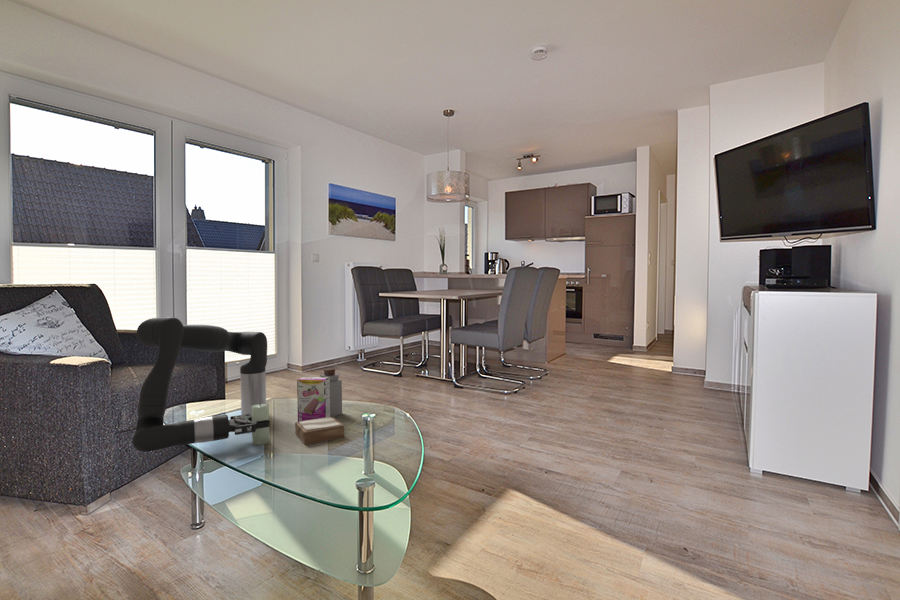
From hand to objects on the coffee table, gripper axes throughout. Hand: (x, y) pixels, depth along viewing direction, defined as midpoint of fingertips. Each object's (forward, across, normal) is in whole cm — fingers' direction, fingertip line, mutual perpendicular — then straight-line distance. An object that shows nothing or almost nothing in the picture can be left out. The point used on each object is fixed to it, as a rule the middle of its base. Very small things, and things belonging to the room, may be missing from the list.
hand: (267, 420), depth 149 cm
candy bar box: (+19, +14, +7) cm, 25 cm away
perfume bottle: (+27, +20, +7) cm, 34 cm away
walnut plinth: (+16, -4, +7) cm, 18 cm away
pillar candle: (-2, 0, +7) cm, 7 cm away
